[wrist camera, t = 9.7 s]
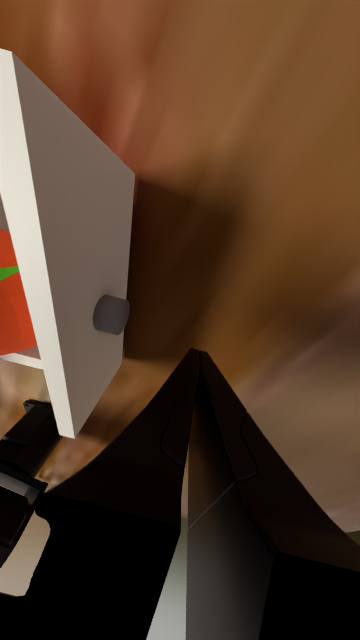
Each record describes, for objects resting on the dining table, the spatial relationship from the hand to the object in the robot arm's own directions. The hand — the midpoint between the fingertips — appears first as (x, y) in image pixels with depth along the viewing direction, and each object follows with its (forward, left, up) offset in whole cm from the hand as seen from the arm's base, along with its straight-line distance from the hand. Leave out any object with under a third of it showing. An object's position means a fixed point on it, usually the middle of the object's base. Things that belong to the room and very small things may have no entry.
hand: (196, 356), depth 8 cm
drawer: (0, +12, -5) cm, 13 cm away
